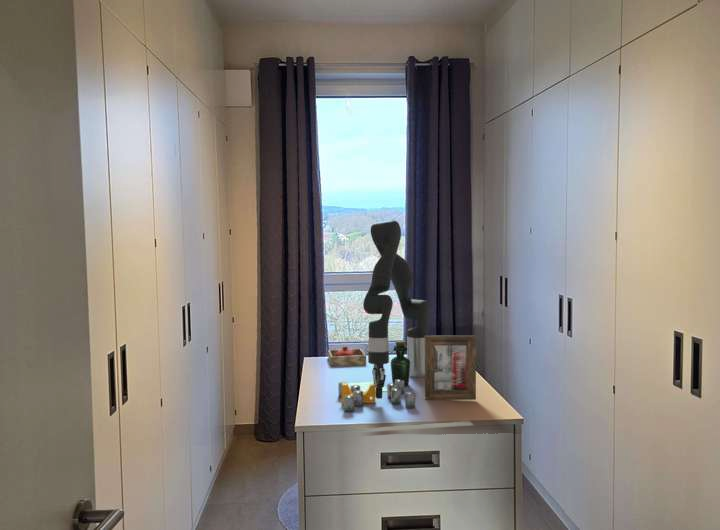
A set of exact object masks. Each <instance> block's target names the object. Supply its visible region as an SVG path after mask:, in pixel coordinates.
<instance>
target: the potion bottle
mask: <svg viewBox="0 0 720 530" xmlns="http://www.w3.org/2000/svg"><path fill="white" fill-rule="evenodd" d="M405 343H406V341H405V340H400V339H399V340H395V346H394V347H393V348H392V349H393V351H395V354H396V356H395V357H393V358H392V359H391V360H390V371H391V380H392V382H391V383H395V380H396V379H403V380H404V388H405V387H407V386H409V383H410V376H409V372H410V360H409V359H408V358H407V356H405V352H407V345H406V346H405Z"/></svg>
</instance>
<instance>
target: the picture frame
mask: <svg viewBox="0 0 720 530" xmlns="http://www.w3.org/2000/svg"><path fill="white" fill-rule="evenodd" d="M476 339H477V336H476V335H428V336H425V377H424V399H425V400H432V401H434V400H435V401H436V400H439V401H440V400H442V401H443V400H445V401H446V400H447V401H449V400H452V401H453V400H454V401H455V400H462V401H463V400H464V401H465V400H466V401H468V400H470V401H476V400H477V393H476V392H477V380H476V379H477V377H476V375H477V370H476V369H477V367H476V366H477V353H476V352H477V351H476V349H477V345H476V344H477V343H476V342H477V340H476Z"/></svg>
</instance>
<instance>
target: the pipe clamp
mask: <svg viewBox="0 0 720 530" xmlns="http://www.w3.org/2000/svg"><path fill="white" fill-rule="evenodd" d="M348 383H349V382H347V383H343V384H342V398H341V405H344V396H346V395H352V396H353V392H352V391H351V390H350V388H349V386H348ZM365 403H366V404H367V403H368V404H370V403H371V404H374V403H376V392H375V385H374V383H370V387H369V389H368V390H367V391H366V392H365V393H363V404H365Z"/></svg>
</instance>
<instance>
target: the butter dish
mask: <svg viewBox="0 0 720 530" xmlns="http://www.w3.org/2000/svg"><path fill="white" fill-rule="evenodd" d="M339 350H340V351H338V352H337V353H336V356H355V353H354V351H353V350H349V347H348V346H345V345H344V346H342V349H339Z"/></svg>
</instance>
